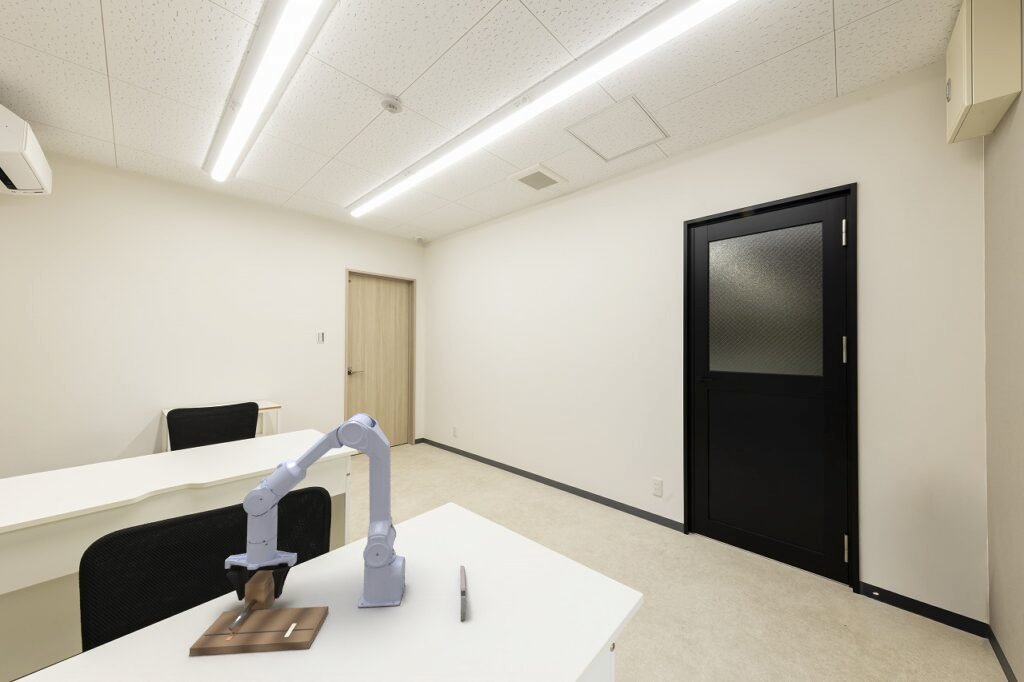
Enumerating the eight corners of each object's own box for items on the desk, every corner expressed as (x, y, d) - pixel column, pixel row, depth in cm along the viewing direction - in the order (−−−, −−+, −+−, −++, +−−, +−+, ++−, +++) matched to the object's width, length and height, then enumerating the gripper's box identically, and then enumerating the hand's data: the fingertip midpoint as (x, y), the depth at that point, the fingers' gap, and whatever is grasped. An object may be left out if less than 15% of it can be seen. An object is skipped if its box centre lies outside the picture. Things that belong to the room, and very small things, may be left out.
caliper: (465, 622, 83) (466, 594, 83) (460, 623, 83) (461, 594, 83) (464, 568, 103) (464, 545, 103) (460, 568, 103) (460, 545, 103)
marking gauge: (275, 600, 88) (276, 570, 89) (241, 643, 76) (242, 608, 76) (257, 600, 88) (258, 570, 88) (220, 645, 75) (221, 609, 75)
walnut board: (328, 612, 85) (328, 605, 85) (309, 648, 75) (309, 640, 75) (223, 618, 82) (223, 611, 82) (189, 656, 72) (189, 647, 72)
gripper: (216, 547, 81) (214, 610, 81) (287, 545, 83) (285, 607, 83) (236, 531, 88) (235, 589, 88) (301, 529, 90) (300, 586, 90)
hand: (260, 596), depth 86 cm, fingers open, 7 cm apart
